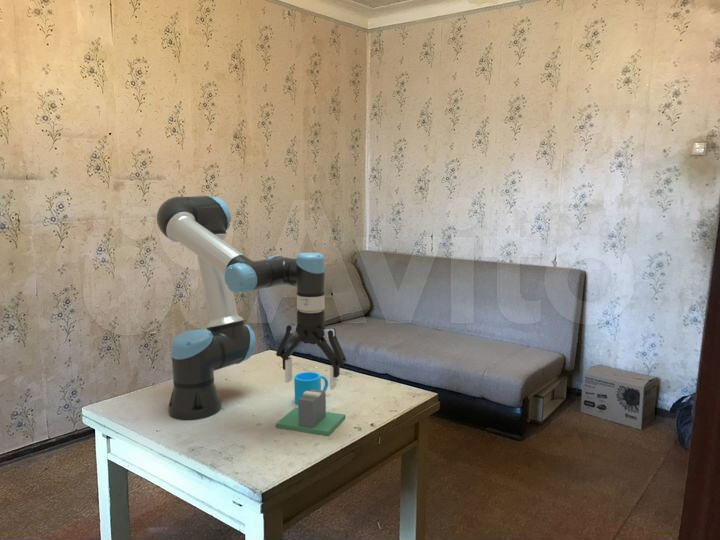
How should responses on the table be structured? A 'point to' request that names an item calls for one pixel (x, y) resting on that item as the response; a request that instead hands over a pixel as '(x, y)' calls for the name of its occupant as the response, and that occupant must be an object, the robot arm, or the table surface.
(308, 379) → the mug
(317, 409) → the grey block with band
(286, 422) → the board
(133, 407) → the table surface
